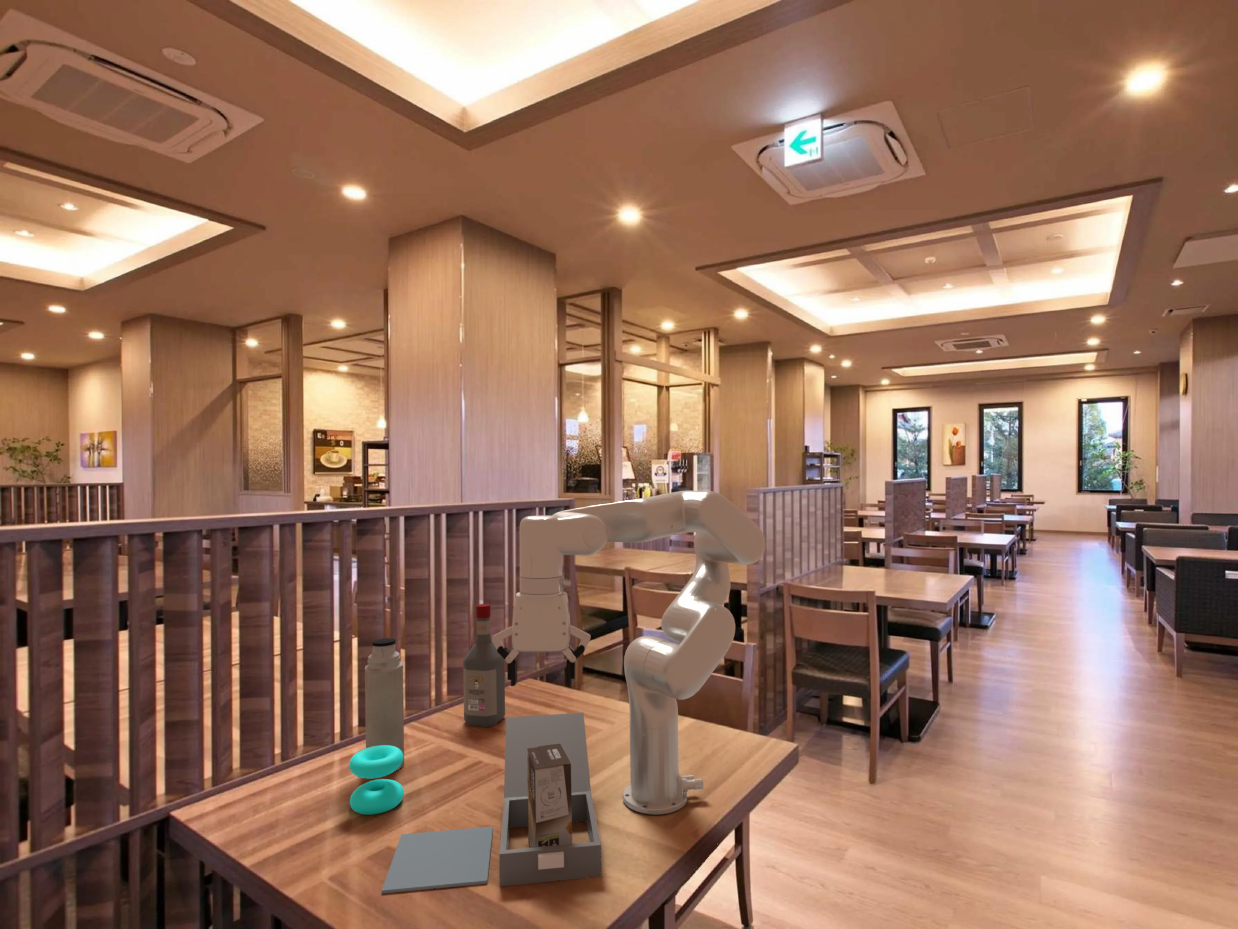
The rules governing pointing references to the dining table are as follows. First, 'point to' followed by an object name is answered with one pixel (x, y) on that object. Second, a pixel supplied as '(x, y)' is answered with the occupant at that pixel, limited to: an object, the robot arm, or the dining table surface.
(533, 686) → the dining table surface
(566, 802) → the coffee box
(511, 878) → the case
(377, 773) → the donuts
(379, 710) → the thermos bottle
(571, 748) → the case lid
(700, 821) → the dining table surface
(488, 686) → the liquor
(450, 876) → the slate mat
